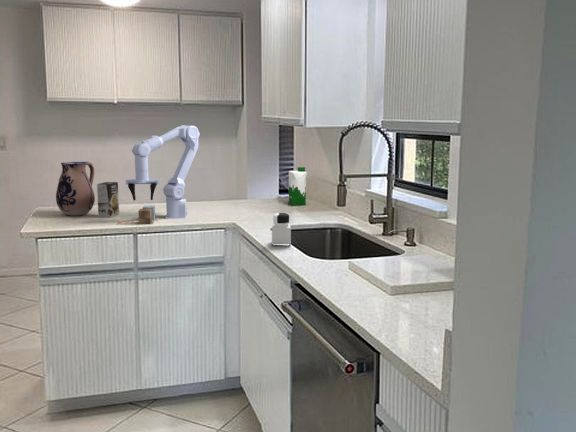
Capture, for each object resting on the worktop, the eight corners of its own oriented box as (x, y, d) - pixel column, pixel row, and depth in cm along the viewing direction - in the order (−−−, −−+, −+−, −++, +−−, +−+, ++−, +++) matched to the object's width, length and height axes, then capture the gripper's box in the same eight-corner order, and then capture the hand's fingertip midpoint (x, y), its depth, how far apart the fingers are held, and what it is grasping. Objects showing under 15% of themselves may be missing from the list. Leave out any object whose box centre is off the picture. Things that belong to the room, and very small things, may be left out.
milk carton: (307, 205, 315) (308, 168, 311) (291, 206, 312) (292, 168, 308) (302, 203, 323) (302, 166, 319) (286, 203, 320) (287, 166, 317)
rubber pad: (154, 221, 268) (154, 221, 268) (152, 225, 262) (152, 224, 262) (138, 222, 268) (138, 221, 268) (136, 225, 261) (136, 224, 261)
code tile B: (159, 218, 277) (159, 217, 277) (156, 221, 270) (156, 220, 269) (141, 218, 277) (141, 217, 277) (139, 221, 269) (139, 220, 269)
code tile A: (137, 221, 269) (137, 220, 269) (134, 225, 261) (134, 224, 261) (119, 221, 268) (119, 220, 268) (115, 225, 261) (115, 224, 261)
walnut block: (151, 221, 267) (151, 208, 266) (150, 223, 262) (149, 210, 261) (140, 221, 267) (140, 208, 266) (138, 224, 262) (138, 210, 261)
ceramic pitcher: (49, 216, 280) (45, 163, 275) (77, 209, 299) (74, 159, 295) (80, 218, 274) (77, 165, 270) (107, 211, 294) (104, 161, 290)
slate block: (155, 218, 276) (154, 205, 275) (154, 220, 271) (153, 207, 270) (144, 218, 275) (144, 205, 274) (142, 220, 270) (142, 207, 269)
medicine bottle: (290, 241, 232) (290, 211, 229) (290, 246, 225) (291, 215, 222) (271, 242, 231) (271, 211, 229) (271, 246, 224) (272, 215, 222)
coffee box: (110, 218, 276) (109, 184, 272) (98, 218, 277) (96, 183, 274) (120, 215, 284) (118, 181, 281) (107, 214, 286) (106, 181, 283)
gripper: (123, 171, 261) (125, 201, 263) (157, 171, 262) (158, 201, 265) (126, 169, 267) (127, 199, 270) (158, 169, 269) (160, 198, 272)
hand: (143, 200), depth 268 cm, fingers open, 7 cm apart
